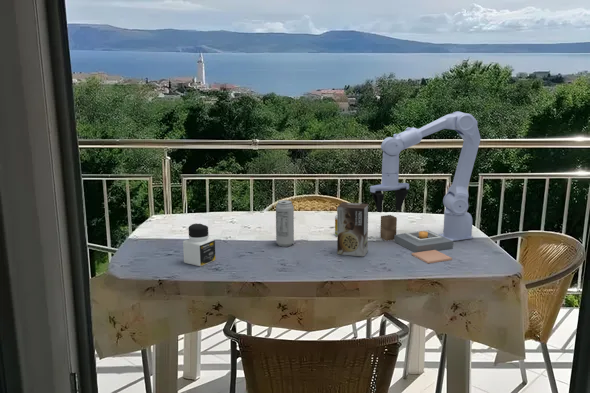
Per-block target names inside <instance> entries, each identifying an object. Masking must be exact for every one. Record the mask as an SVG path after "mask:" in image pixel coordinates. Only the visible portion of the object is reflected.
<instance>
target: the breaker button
mask: <svg viewBox="0 0 590 393" xmlns="http://www.w3.org/2000/svg"><path fill="white" fill-rule="evenodd" d="M418 231H419V239H425V238H428V232H426V231H424V230H418Z"/></svg>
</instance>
